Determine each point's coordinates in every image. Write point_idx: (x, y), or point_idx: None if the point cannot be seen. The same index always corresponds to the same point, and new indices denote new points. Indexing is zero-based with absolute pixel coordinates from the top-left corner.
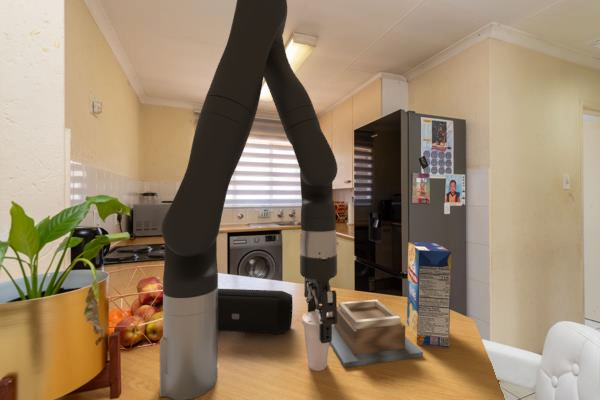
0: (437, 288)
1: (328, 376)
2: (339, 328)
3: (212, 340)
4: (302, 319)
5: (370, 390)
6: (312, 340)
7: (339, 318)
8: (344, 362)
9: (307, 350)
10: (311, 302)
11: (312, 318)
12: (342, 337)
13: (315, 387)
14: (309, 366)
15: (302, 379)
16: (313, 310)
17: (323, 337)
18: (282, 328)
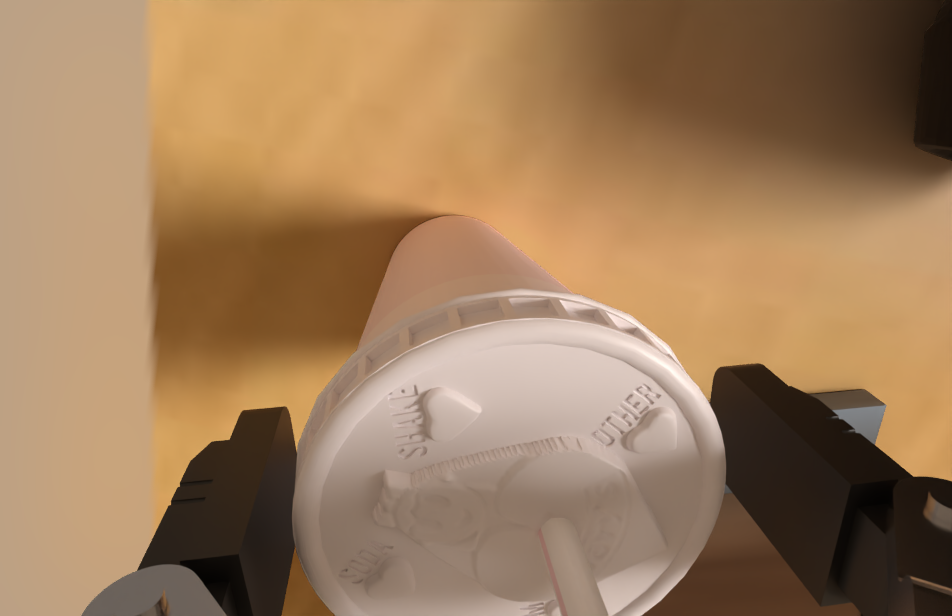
0: None
1: (323, 323)
2: (733, 525)
3: None
4: (527, 316)
5: None
6: (368, 327)
7: (779, 586)
8: None
9: (439, 243)
10: (875, 548)
11: (502, 458)
12: None
13: (219, 218)
14: (428, 221)
15: (308, 143)
16: (782, 487)
17: (202, 470)
18: (926, 67)
